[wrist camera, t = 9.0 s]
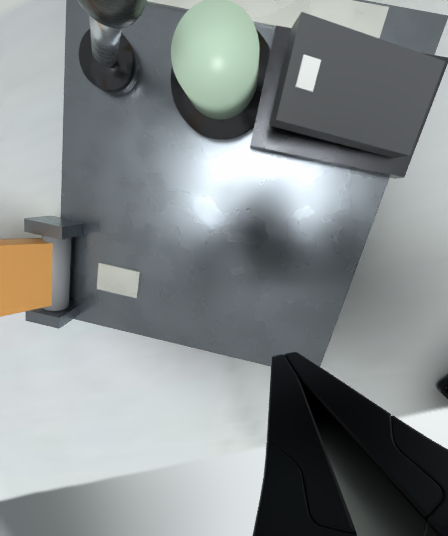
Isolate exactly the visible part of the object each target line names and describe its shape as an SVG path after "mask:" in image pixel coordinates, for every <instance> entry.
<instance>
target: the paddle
mask: <svg viewBox="0 0 448 536" xmlns="http://www.w3.org/2000/svg"><path fill="white" fill-rule="evenodd" d="M70 261H71V238H68V239H64V240H60V239H55V238H51V237H47V236H43V238H36V239H0V316H5V315H10V314H15V313H19V312H24V311H29V310H33V309H38V308H43V309H45V310H48V311H59V310H63V309H66V308H67V307H68V306H69V287H70Z"/></svg>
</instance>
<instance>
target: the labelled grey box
mask: <svg viewBox="0 0 448 536" xmlns="http://www.w3.org/2000/svg"><path fill="white" fill-rule="evenodd" d="M445 62H446V61H443V60H440V59H437V58H434V57H431V56H428V55H425V54H423V53H420V52H417V51H414V50H411V49H408V48H405V47H402V46H399V45H397V44H394V43H391V42H388V41H385V40H382V39H379V38H376V37H373V36H371V35H368V34H365V33H362V32H359V31H356V30H353V29H350V28H347V27H345V26H342V25H339V24H336V23H333V22H330V21H327V20H324V19H321V18H319V17H316V16H313V15H310V14H307V13H304V12H301V13H300V15H299V16H298V18H297V20H296V21H295V23H294V24H293V26H292V28H291V31H290V35H289V40H288V44H287V49H286V53H285V57H284V62H283V66H282V70H281V75H280V79H279V83H278V88H277V92H276V97H275V101H274V105H273V110H272V114H271V118H270V123H269V126H273V127H277V128H281V129H285V130H288V131H292V132H296V133H300V134H304V135H307V136H311V137H315V138H319V139H323V140H326V141H330V142H334V143H338V144H341V145H345V146H349V147H353V148H357V149H360V150H364V151H368V152H372V153H376V154H379V155H383V156H387V157H391V158H396V157H403V156H410V154H411V151H412V149H413V146H414V143H415V141H416V138H417V135H418V133H419V130H420V127H421V125H422V122H423V120H424V117H425V114H426V112H427V109H428V106H429V104H430V101H431V98H432V96H433V93H434V91H435V88H436V85H437V83H438V80H439V77H440V75H441V72H442V69H443V67H444V64H445Z"/></svg>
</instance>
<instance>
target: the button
mask: <svg viewBox="0 0 448 536" xmlns="http://www.w3.org/2000/svg"><path fill="white" fill-rule="evenodd" d="M171 61H172V66H173V70H174V73H175V76H176V78H177V80H178V82H179V84H180V85H181V87H182V88H183V90H184V92H185V93H186V95H187V96H188V98H189V99H190V101H191V103H192V104H193V105H194V107H195V108H196V109H197V110H198V111H199V112H200V113H202V114H203V115H205V116H207V117H209V118H212V119H218V120H223V119H228V118H232V117H234V116H236V115H238V114H239V113H241V112H242V111H243V110H244V109H245V108H246V107H247V106H248V104H249V103H250V102H251V100H252V98H253V96H254V93H255V91H256V87H257V81H258V67H259V39H258V34H257V31H256V28H255V25H254V23H253V21H252V20H251V18H250V16H249V15H248V14H247V13H246V11H245V10H244V9H243V8H241V7H240V6H239V5H237V4H236V3H234V2H232V1H230V0H204V1H201V2H199V3H197V4H196V5H194V6H193V7H192V8H190V9H189V10H188V11H187V12H186V13H185V14H184V16H183V17H182V18H181V20H180V21H179V23H178V25H177V27H176V30H175V32H174V35H173V39H172V45H171Z"/></svg>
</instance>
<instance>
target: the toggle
mask: <svg viewBox="0 0 448 536" xmlns="http://www.w3.org/2000/svg"><path fill="white" fill-rule="evenodd" d="M77 1H78V3H79V4H80V6H81V7H82V8H83V9H84V10H85V11H86V12H87V13H88V14H89V19H90V32H91V45H92V53H93V56H94V58H95V60H96V61H97V62H98V63H99V64H101V65H102V66H105V67H111V66H113V65H114V64H115V63H116V61H117V55H118V49H119V42H120V36H121V29H122V28H126V27H129V26H131V25H132V24H134V23H135V22H136V21H137V20H138V19H139V18H140V16H141V15H142V13H143V11H144V8H145V6H146V2H147V0H77Z"/></svg>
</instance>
